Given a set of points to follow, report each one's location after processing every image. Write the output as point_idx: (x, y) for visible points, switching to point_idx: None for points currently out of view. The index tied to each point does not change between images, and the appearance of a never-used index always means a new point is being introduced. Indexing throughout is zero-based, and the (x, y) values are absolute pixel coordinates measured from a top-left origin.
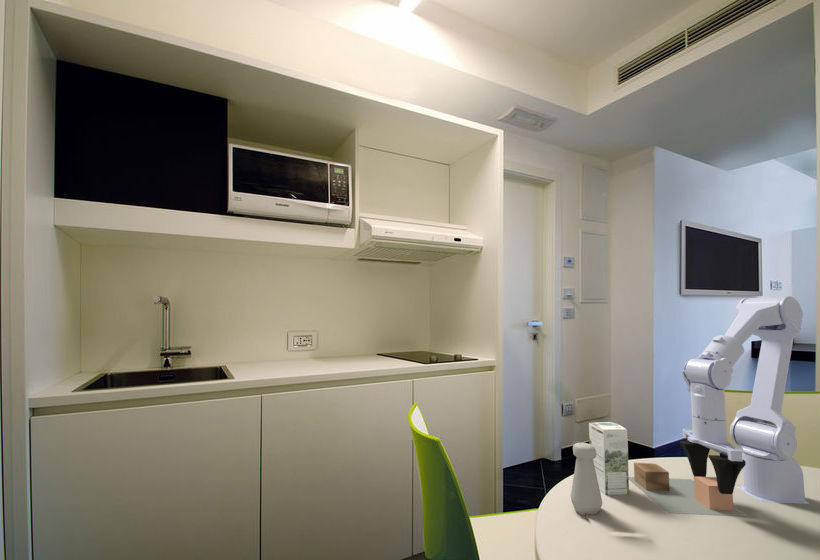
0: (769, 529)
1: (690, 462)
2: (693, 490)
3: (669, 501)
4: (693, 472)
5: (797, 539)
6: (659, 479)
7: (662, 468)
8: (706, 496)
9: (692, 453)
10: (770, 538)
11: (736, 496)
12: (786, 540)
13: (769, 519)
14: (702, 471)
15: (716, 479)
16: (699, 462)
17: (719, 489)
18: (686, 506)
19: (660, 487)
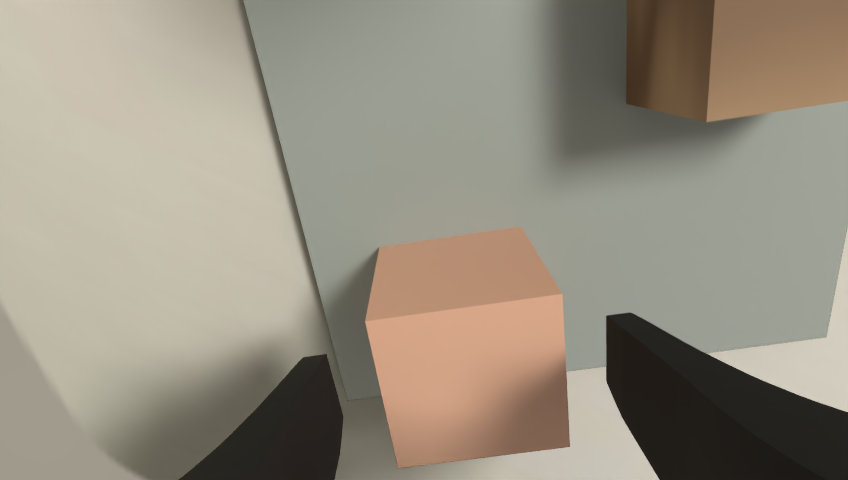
0: None
1: (697, 366)
2: (649, 273)
3: (434, 18)
4: (634, 326)
5: None
6: (670, 19)
7: (810, 98)
8: (400, 270)
9: (748, 472)
10: (171, 380)
11: (619, 456)
12: (181, 430)
13: (380, 466)
14: (630, 400)
15: (521, 431)
16: (676, 445)
17: (306, 365)
18: (381, 114)
19: (639, 30)
